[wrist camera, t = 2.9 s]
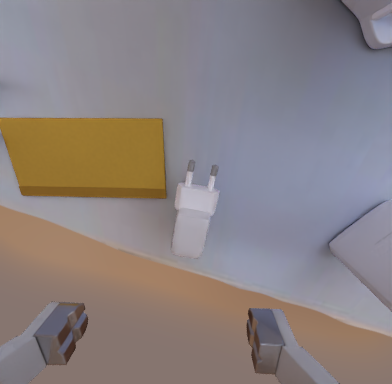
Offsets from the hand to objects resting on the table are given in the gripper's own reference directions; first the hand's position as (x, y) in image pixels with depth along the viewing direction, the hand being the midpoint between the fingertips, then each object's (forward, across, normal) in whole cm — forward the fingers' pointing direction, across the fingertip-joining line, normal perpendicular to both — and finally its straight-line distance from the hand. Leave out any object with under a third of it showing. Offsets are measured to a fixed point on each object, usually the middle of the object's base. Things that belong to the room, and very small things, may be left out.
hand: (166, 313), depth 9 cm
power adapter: (+17, -1, 0) cm, 17 cm away
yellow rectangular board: (+17, +13, -5) cm, 22 cm away
